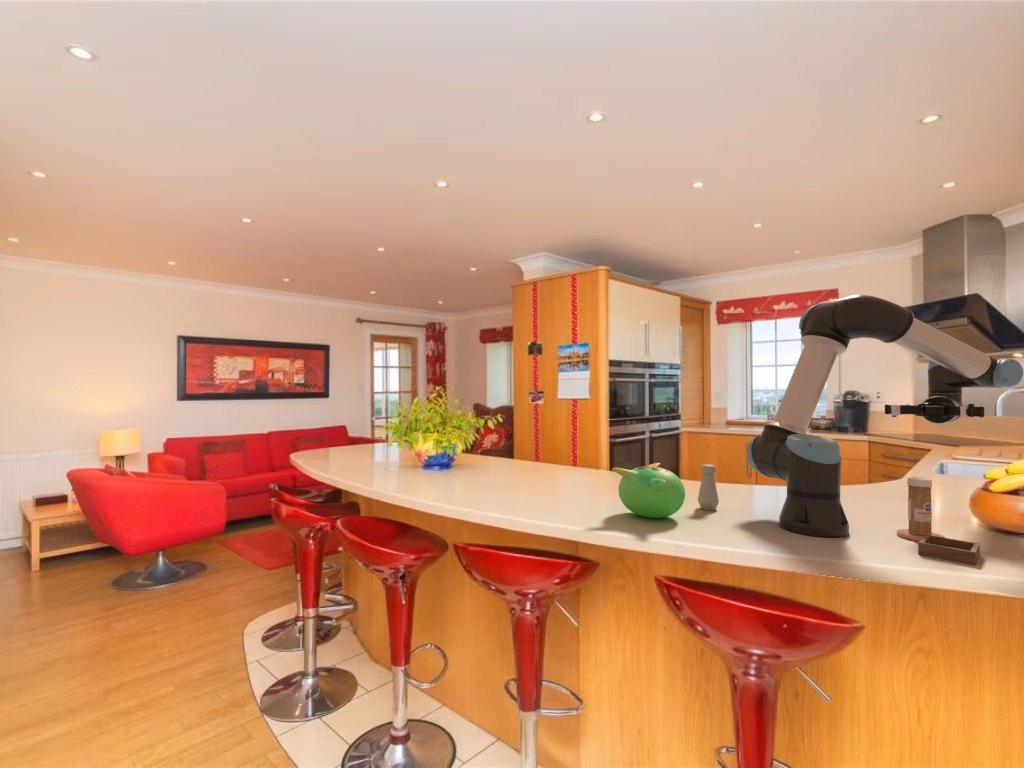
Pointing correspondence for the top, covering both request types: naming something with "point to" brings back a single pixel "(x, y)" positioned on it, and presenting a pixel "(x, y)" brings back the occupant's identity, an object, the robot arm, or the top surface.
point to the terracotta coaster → (907, 535)
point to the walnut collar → (949, 549)
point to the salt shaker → (708, 488)
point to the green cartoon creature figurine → (650, 491)
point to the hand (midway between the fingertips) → (926, 411)
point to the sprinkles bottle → (919, 506)
